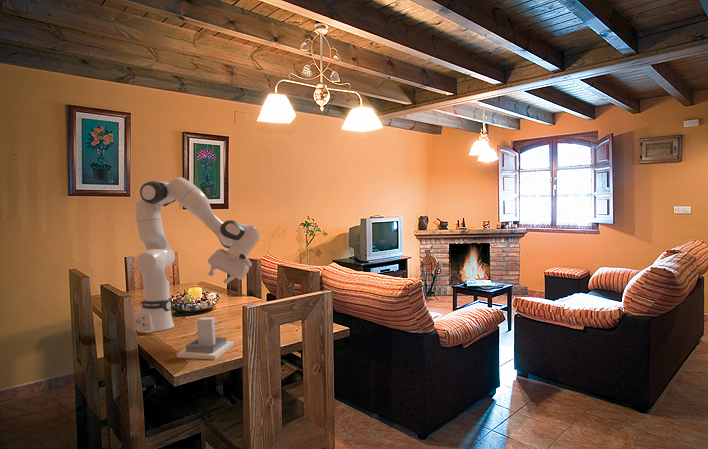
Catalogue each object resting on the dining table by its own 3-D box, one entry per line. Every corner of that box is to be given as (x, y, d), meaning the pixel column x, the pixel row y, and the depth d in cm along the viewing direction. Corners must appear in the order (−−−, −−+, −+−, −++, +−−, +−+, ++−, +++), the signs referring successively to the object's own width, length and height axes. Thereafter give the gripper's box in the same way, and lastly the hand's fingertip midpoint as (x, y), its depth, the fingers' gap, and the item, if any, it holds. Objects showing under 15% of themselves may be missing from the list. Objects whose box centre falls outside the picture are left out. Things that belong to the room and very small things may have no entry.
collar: (185, 351, 169) (185, 345, 169) (200, 342, 180) (200, 336, 180) (213, 352, 167) (212, 346, 167) (226, 343, 178) (226, 337, 178)
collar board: (176, 357, 166) (176, 353, 166) (199, 343, 183) (199, 340, 183) (215, 359, 164) (215, 355, 164) (234, 345, 181) (234, 341, 181)
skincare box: (215, 345, 176) (215, 316, 175) (213, 349, 171) (212, 319, 171) (200, 345, 175) (199, 316, 175) (197, 349, 171) (196, 319, 170)
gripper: (216, 244, 201) (197, 267, 194) (250, 259, 193) (231, 284, 187) (222, 251, 206) (203, 274, 200) (254, 266, 198) (236, 290, 192)
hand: (217, 279), depth 193 cm, fingers open, 8 cm apart
